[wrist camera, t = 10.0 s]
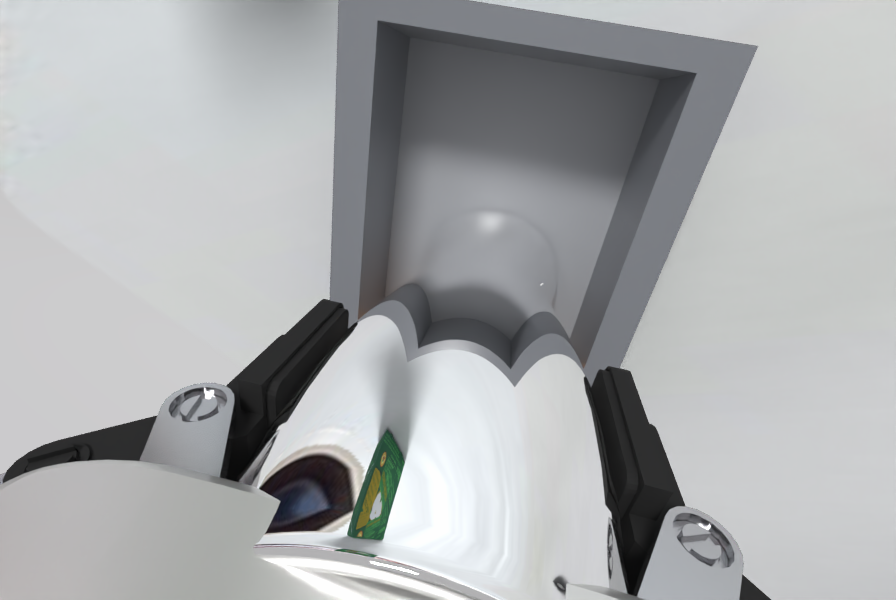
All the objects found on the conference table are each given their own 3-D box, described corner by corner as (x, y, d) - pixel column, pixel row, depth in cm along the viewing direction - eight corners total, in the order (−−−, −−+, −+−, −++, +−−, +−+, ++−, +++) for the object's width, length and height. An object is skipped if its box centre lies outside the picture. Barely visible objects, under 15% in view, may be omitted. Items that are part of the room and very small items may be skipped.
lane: (701, 59, 14) (778, 41, 10) (562, 425, 22) (569, 507, 17) (384, 8, 15) (323, -30, 11) (357, 374, 23) (316, 439, 19)
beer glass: (478, 364, 21) (386, 834, 8) (382, 262, 19) (54, 630, 6) (600, 288, 18) (797, 832, 5) (499, 161, 16) (367, 435, 3)
